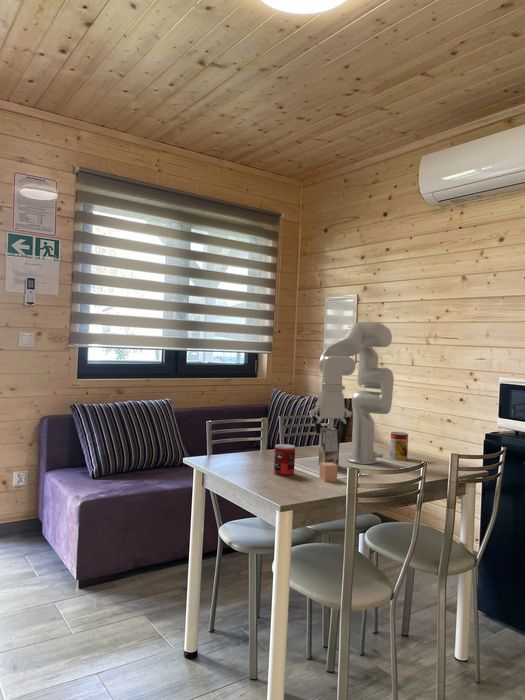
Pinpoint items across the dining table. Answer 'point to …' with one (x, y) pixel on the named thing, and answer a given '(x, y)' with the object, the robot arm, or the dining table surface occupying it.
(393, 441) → the canned food
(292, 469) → the canned food
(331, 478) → the block
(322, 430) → the coffee box
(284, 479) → the dining table surface
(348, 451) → the dining table surface
